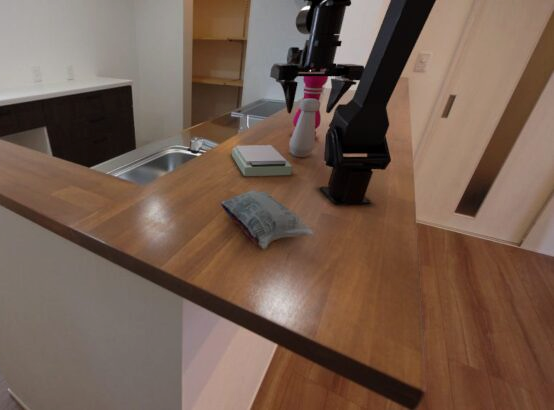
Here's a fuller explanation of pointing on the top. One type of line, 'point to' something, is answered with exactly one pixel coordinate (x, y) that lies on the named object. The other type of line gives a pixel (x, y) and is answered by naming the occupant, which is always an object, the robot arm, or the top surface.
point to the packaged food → (264, 218)
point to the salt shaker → (305, 129)
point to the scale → (260, 161)
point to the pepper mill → (312, 95)
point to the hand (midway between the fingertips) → (308, 112)
